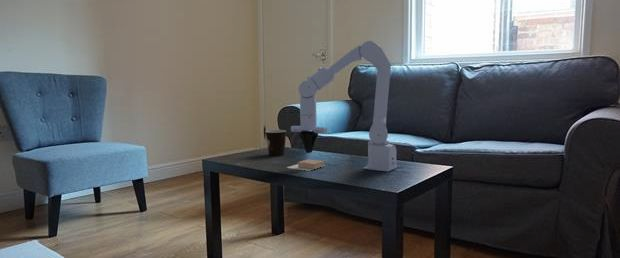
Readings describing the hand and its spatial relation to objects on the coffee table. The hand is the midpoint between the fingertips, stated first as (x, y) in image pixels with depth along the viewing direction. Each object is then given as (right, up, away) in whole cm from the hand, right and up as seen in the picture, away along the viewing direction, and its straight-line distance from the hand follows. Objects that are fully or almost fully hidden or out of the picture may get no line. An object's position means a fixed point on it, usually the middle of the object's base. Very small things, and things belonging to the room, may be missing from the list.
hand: (309, 152), depth 163 cm
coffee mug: (-14, -3, +26) cm, 30 cm away
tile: (+4, -4, -2) cm, 6 cm away
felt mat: (-1, -5, +2) cm, 6 cm away
